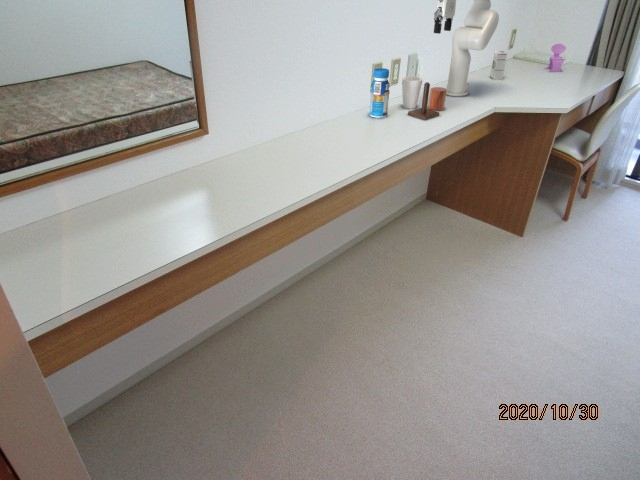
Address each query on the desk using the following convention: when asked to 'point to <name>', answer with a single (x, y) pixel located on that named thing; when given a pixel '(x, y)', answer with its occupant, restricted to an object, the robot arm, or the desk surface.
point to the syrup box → (498, 64)
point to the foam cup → (411, 91)
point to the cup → (437, 98)
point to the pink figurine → (556, 58)
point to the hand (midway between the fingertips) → (442, 31)
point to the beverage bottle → (379, 93)
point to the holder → (424, 107)
